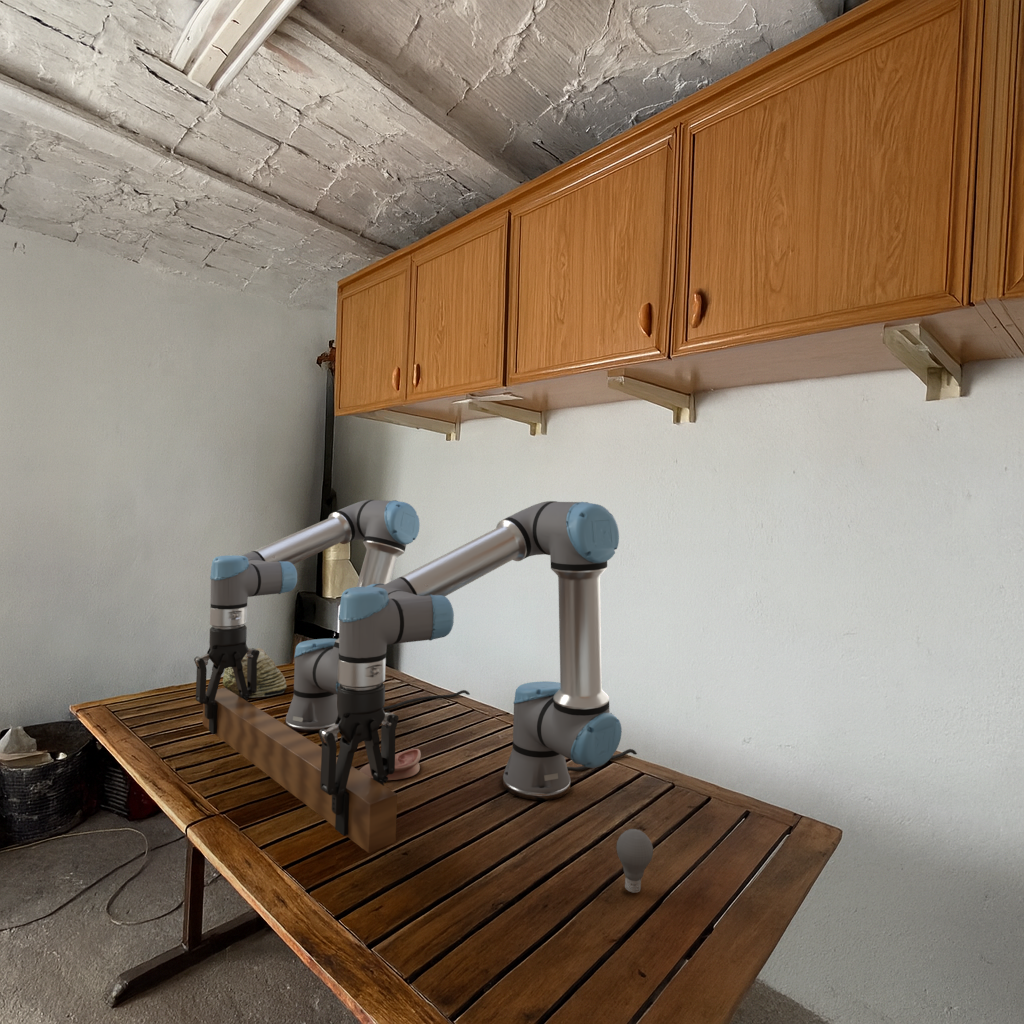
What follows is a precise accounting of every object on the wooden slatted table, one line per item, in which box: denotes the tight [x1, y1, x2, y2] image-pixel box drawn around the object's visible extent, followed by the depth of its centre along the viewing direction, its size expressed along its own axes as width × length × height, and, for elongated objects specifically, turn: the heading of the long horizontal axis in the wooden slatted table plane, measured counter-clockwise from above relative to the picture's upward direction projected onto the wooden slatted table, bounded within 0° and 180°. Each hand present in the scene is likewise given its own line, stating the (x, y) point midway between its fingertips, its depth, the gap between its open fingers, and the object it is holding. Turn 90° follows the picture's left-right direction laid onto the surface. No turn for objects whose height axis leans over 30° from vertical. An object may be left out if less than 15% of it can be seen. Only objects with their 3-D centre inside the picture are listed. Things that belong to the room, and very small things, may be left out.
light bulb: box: [615, 828, 654, 894], centre depth 106 cm, size 6×6×10 cm
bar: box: [202, 687, 398, 854], centre depth 122 cm, size 69×5×8 cm, turn 45°
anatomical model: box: [358, 748, 422, 781], centre depth 147 cm, size 13×4×12 cm
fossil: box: [222, 647, 288, 699], centre depth 198 cm, size 9×18×15 cm, turn 132°
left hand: (226, 728), depth 141 cm, fingers closed on bar, 5 cm apart
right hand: (357, 825), depth 103 cm, fingers closed on bar, 5 cm apart
